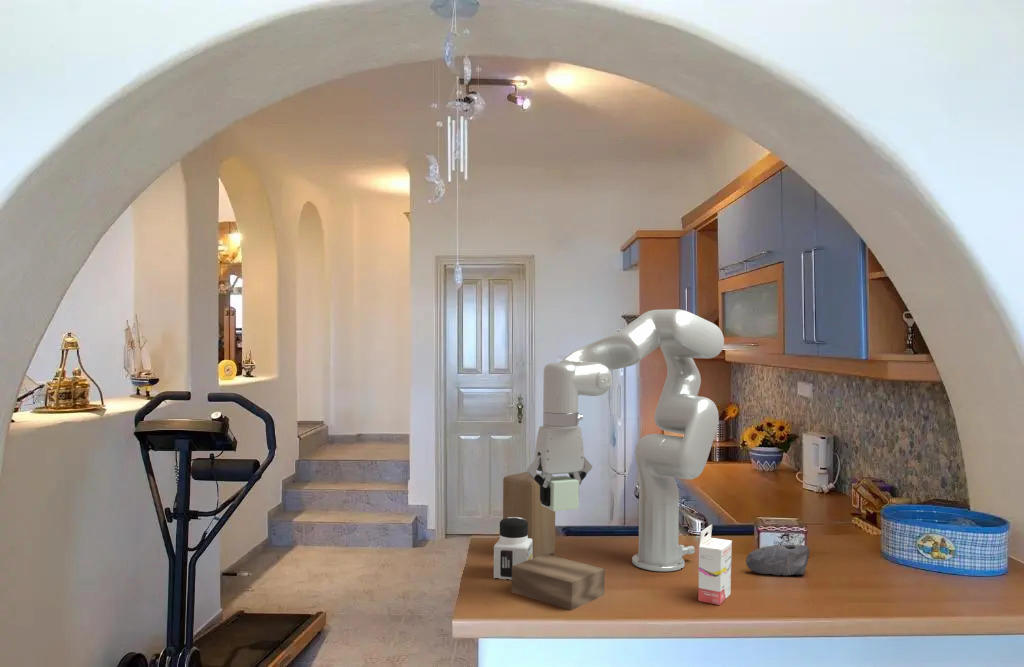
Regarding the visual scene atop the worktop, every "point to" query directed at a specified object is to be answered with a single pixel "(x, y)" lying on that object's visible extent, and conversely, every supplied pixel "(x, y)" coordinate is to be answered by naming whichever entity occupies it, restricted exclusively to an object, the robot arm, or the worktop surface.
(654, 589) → the worktop surface
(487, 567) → the worktop surface
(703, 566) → the ink cartridge box
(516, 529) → the container
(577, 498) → the sage green cube
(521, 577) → the walnut block
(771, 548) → the perforated stone tool
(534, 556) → the block
